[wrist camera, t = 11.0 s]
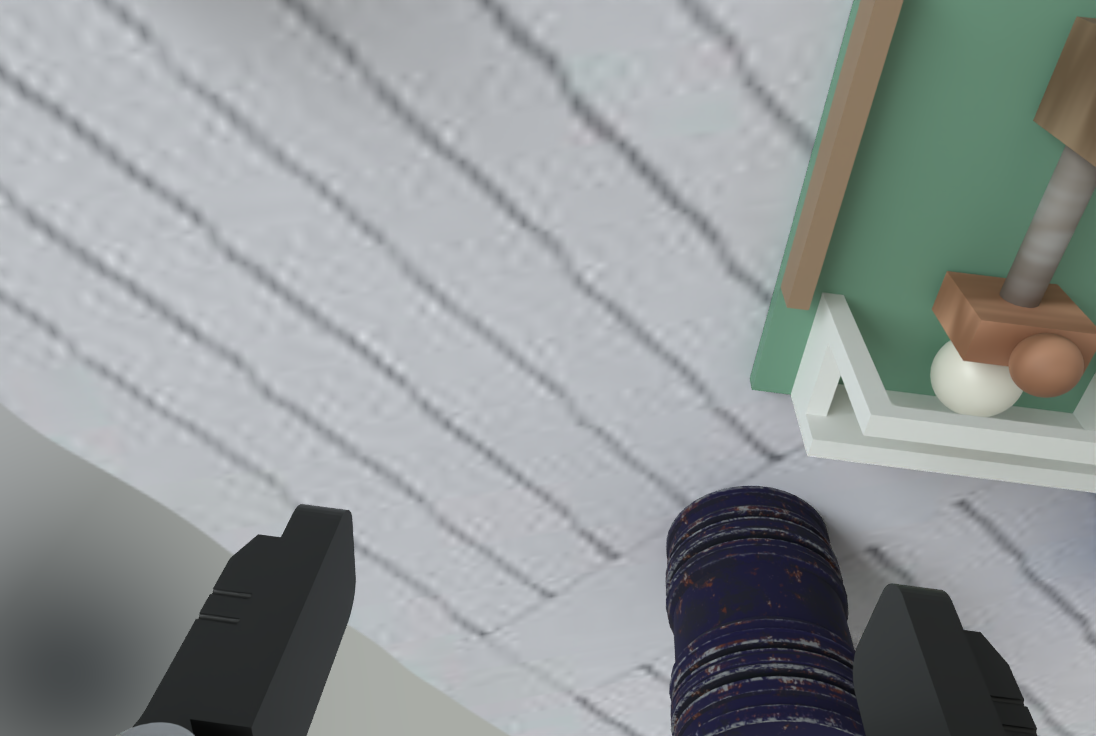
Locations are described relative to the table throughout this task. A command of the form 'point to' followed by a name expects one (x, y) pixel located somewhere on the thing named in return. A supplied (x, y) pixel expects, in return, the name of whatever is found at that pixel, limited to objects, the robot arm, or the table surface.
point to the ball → (971, 384)
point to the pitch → (926, 240)
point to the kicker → (1039, 251)
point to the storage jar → (758, 620)
